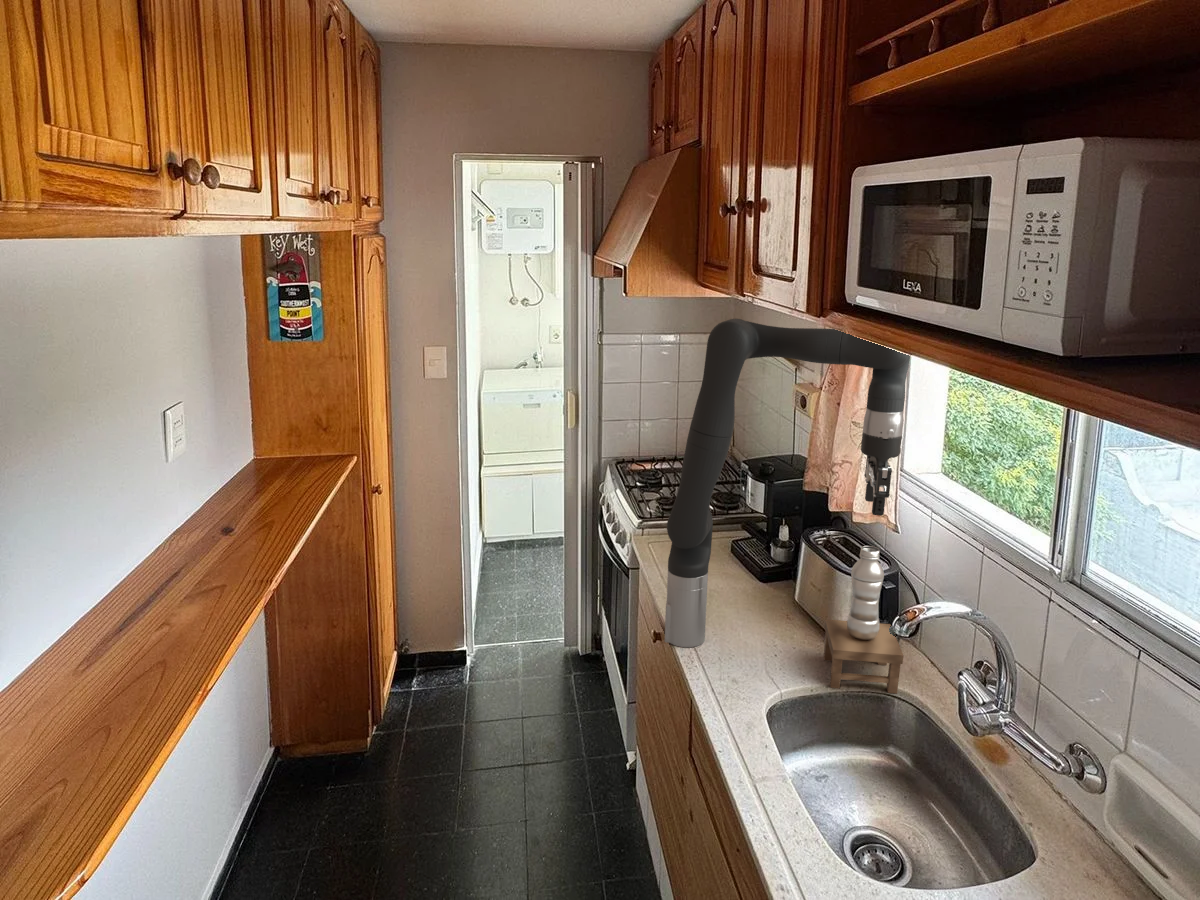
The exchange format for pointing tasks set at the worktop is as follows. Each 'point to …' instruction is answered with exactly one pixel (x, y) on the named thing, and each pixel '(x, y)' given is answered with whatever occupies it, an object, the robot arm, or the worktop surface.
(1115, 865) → the worktop surface
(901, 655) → the walnut stool
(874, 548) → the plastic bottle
